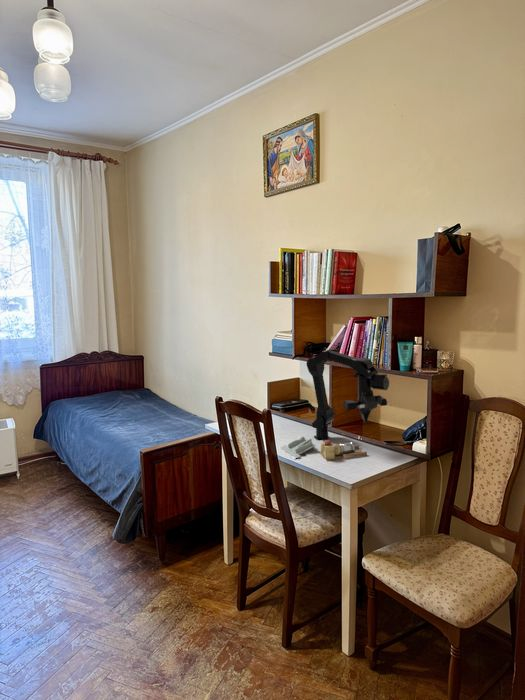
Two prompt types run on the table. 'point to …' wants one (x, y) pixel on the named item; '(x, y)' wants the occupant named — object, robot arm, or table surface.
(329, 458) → the wooden channel tray
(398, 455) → the table surface
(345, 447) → the cylinder
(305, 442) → the metal bracket
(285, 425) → the table surface
